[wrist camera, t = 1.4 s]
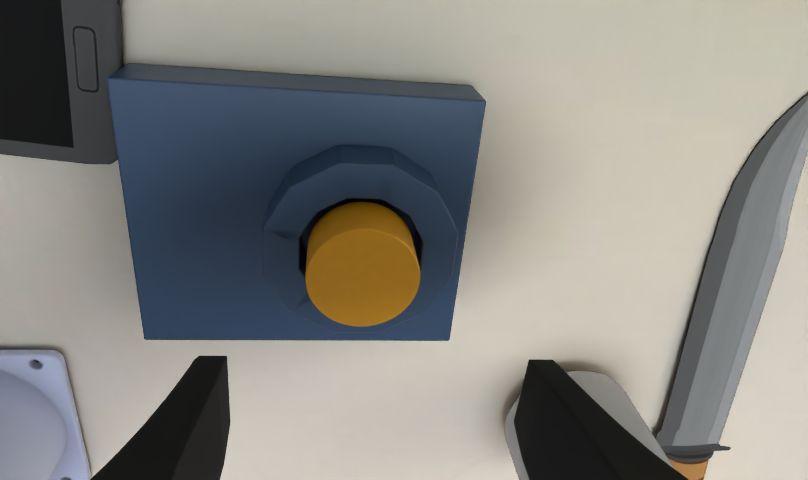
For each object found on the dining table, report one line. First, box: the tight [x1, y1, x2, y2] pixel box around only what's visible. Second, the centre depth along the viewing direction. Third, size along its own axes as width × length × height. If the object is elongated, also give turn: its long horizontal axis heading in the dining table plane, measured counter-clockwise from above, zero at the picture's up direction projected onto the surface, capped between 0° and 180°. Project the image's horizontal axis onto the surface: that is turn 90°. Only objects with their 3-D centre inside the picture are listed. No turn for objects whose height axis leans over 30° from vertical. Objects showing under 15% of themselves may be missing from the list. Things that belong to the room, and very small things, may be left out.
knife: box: [656, 94, 808, 480], centre depth 29 cm, size 30×1×5 cm
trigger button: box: [305, 202, 420, 327], centre depth 19 cm, size 4×4×2 cm
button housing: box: [106, 63, 486, 341], centre depth 21 cm, size 12×10×4 cm
